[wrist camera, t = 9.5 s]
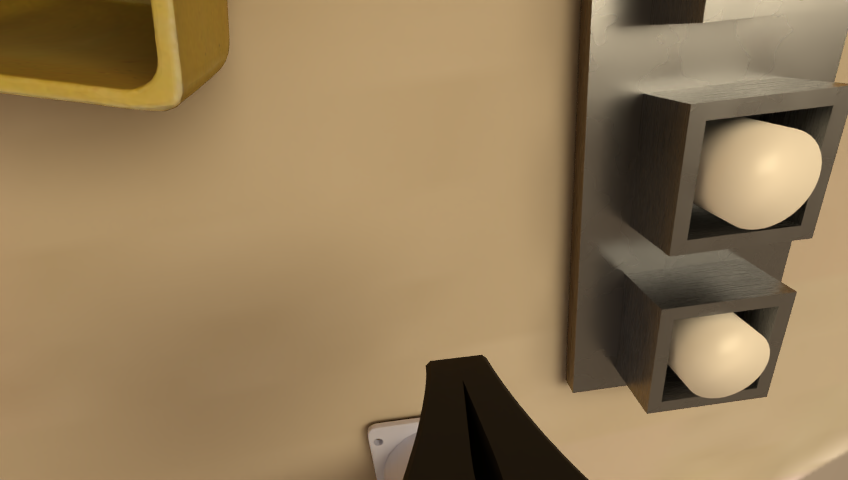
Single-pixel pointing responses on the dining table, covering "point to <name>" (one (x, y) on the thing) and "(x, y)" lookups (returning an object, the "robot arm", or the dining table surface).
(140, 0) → the flower pot
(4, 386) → the dining table surface
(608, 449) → the dining table surface
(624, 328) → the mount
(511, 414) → the robot arm
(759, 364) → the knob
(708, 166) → the knob middle
